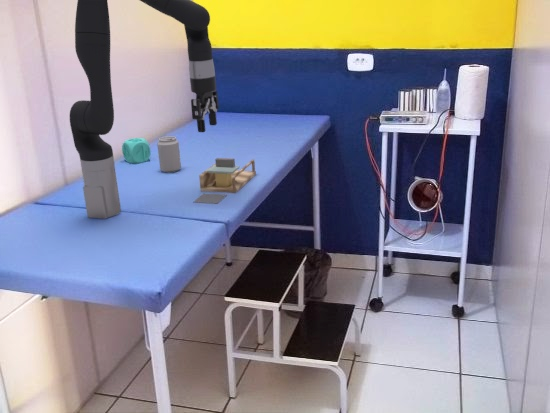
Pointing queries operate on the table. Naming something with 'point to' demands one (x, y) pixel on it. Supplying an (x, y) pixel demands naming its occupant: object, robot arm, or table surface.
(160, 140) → the can
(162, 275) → the table surface
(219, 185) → the block
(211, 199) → the mat
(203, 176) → the wooden rack
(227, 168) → the lid
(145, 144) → the decorative dice
